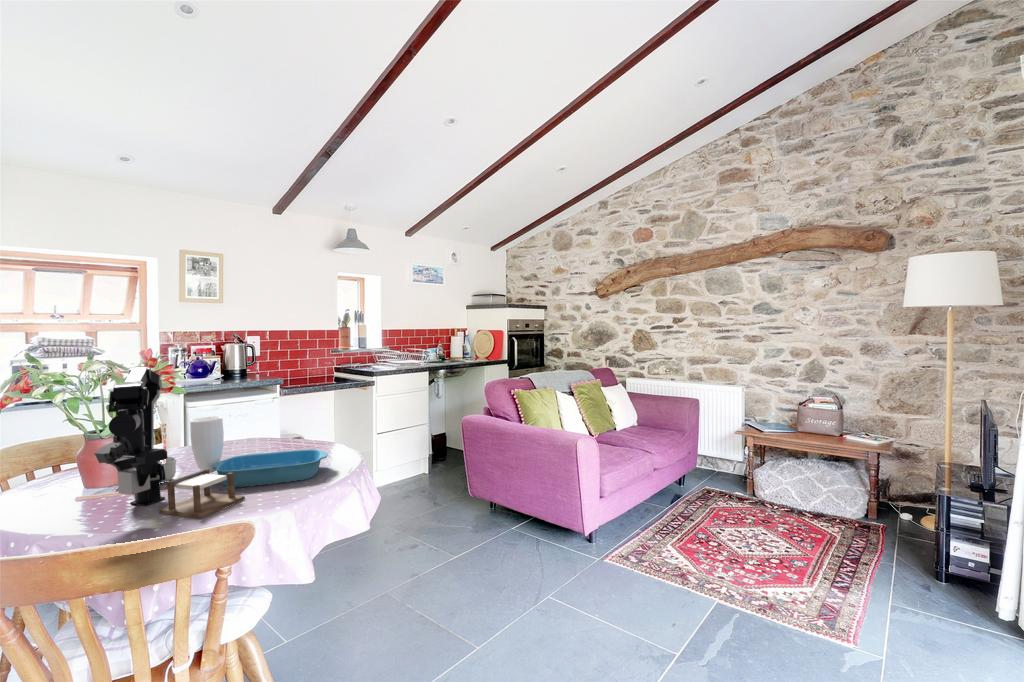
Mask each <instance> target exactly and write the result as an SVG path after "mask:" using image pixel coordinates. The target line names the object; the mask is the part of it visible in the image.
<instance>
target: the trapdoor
mask: <svg viewBox="0 0 1024 682" xmlns="http://www.w3.org/2000/svg"><path fill="white" fill-rule="evenodd" d="M224 480H227V476H226V475H218V474H214V473H213V474H212V473H210V474H205V475H203V474H202V475H199V476H197V477H194V478H191V479H188V480H185V481H182V482H179V483H176V484H175V485H176V489H180V490H191V491H193V486H195V485H200V490H202V489H203V490H204V488H205V487H208V486H210V487H211V486H213V485H216V484H219V483H222V482H221V481H224Z"/></svg>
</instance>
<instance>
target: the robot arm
mask: <svg viewBox="0 0 1024 682" xmlns="http://www.w3.org/2000/svg"><path fill="white" fill-rule="evenodd" d="M128 373H129V374H128V375H127V376H126V377H127V378H126V379H125V380H124V382H120V383H116V384H115V385H114V386H113V388H112V389H110V394H109V402H108V409H107V410H108V413H115V416H114V417H113V418H111V419H110V421H109V423H108V430H109V432H110V433H111V434H112V435H113V438H112V440H113V441H112V442H110V443H108V444H106V445H104V446H102V447H101V448H99V449H97V450H95V451H94V452H93V453H94V457H95V458H96V460H97V461H98V463H99V464H103V463H104V464H106V465H110V466H112V467H114V468H115V469H116V470H117V472H118V471H122V470H125V469H129V468H132V467H134V468H136V472H137V478H138V483H139V486H140V487H141V486H144V484H145V482H146V480H147V478H148V476H149V474H150V489H148V490H145V491H142V492H139V493H136V494H134V498H135V500H133V501H131V502H130V505H134V504H136V505H135V506H143V505H146V506H148V504H149V505H152V504H155V503H157V502H159V501H162V500H165V499H166V497H165V496H161V494H162V493H161V486H160V485H161V484H159V482H162V481H163V480H166V474H165V468H164V466H163V465H162V462H160V460H164V459H167V458H168V457H169V456H168V451H167V450H166V449H165V448H157V447H155V448H154V441H155V440H154V439H155V438H154V434H155V433H154V431H155V428H154V423H155V422H154V418H155V417H154V416H155V415H154V413H155V412H154V411H155V410H154V405H155V403H156V402H157V401H158V399H159V398H160V393H161V392H160V391H162V389H163V383H162V379H161V375H160V374H159V373H156V372H154V371H152V369H151V367H148V366H142V367H141V366H140V367H132V368H129V370H128ZM158 475H159V476H158ZM157 476H158V477H157ZM151 503H152V504H151Z"/></svg>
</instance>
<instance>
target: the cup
mask: <svg viewBox="0 0 1024 682" xmlns="http://www.w3.org/2000/svg"><path fill="white" fill-rule="evenodd" d="M189 422H190V423H189V424H190V433H189V435H190V443H191V451H192V455H193V457H194V461H195V463H196V466H197V467H198V469H199V471H202V470H205V469H209V473H210V474H212V473H214V472H217V470H216V469H213V468H212V466H213V465H214V464H215V463H217V462H220V461H222V455H223V450H224V445H225V444H224V440H225V439H224V432H225V431H224V423H223V417H222V416H218V415H217V416H216V415H215V416H205V417H204V416H203V417H198V418H193V419H191V420H189Z"/></svg>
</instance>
